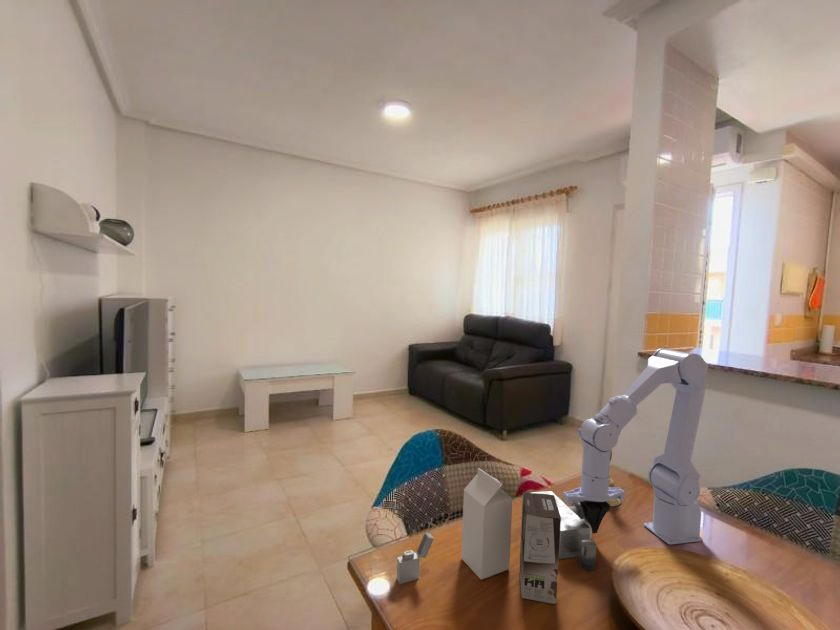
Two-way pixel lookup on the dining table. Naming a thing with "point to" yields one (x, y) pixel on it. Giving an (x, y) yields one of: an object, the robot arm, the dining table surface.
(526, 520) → the coffee box
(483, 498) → the milk carton
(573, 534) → the mount
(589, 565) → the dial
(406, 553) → the lighter
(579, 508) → the knob black
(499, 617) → the dining table surface
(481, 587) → the dining table surface
